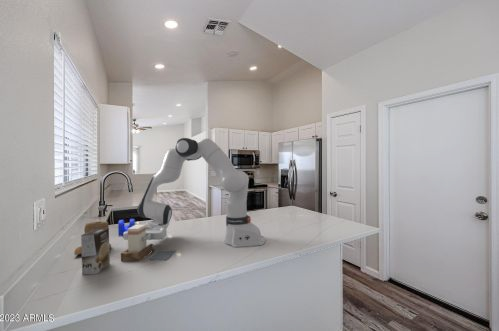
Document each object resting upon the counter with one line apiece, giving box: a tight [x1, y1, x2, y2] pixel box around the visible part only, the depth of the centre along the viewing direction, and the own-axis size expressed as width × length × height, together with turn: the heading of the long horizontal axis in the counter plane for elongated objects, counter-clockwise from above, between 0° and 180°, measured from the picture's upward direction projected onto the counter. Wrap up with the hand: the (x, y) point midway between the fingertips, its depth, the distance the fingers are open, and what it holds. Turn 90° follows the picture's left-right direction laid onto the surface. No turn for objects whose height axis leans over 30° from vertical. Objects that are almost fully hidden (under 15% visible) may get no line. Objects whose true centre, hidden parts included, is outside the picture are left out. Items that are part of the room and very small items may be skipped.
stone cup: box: [73, 220, 112, 256], centre depth 117 cm, size 15×12×15 cm
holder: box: [120, 243, 154, 262], centre depth 109 cm, size 9×12×4 cm
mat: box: [146, 249, 176, 262], centre depth 109 cm, size 9×11×1 cm
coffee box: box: [80, 228, 111, 276], centre depth 96 cm, size 9×6×16 cm
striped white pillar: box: [127, 224, 148, 253], centre depth 109 cm, size 5×7×14 cm
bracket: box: [117, 218, 136, 236], centre depth 151 cm, size 18×8×9 cm, turn 18°
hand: (136, 239), depth 108 cm, fingers closed on striped white pillar, 5 cm apart
